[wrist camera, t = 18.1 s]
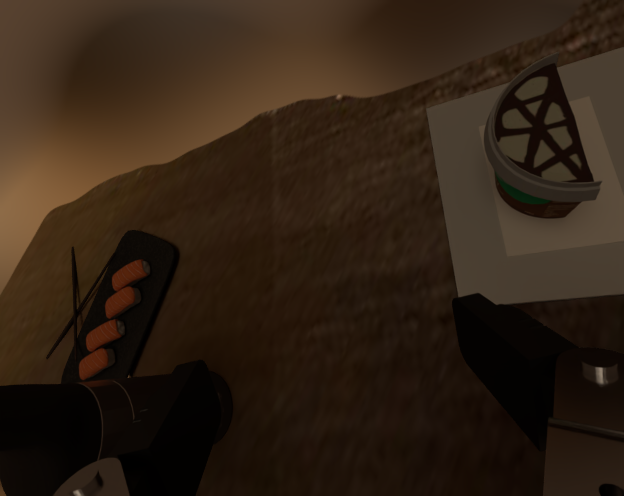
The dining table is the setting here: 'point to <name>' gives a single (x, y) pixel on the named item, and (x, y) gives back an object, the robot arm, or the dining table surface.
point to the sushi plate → (118, 309)
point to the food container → (538, 145)
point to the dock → (526, 229)
